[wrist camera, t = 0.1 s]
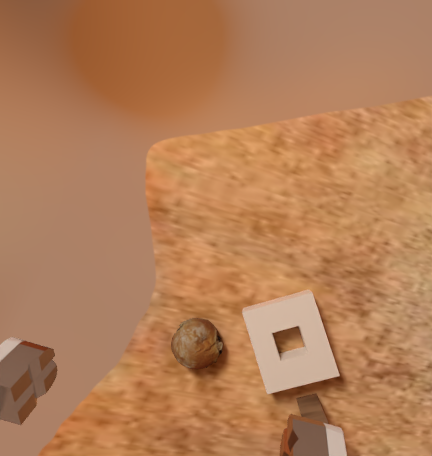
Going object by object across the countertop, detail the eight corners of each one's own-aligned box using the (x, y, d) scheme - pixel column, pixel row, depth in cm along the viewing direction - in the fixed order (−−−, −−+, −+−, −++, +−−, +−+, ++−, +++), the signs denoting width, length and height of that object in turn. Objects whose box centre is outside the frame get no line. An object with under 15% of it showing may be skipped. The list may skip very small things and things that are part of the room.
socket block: (334, 367, 60) (339, 375, 56) (266, 384, 62) (267, 394, 58) (308, 289, 62) (312, 292, 58) (243, 308, 63) (242, 312, 59)
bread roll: (200, 308, 68) (180, 307, 61) (235, 337, 62) (216, 338, 56) (178, 346, 68) (155, 348, 61) (210, 378, 62) (189, 384, 56)
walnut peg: (322, 413, 60) (339, 455, 48) (302, 418, 60) (314, 460, 49) (316, 393, 60) (331, 429, 49) (296, 398, 61) (306, 435, 49)
